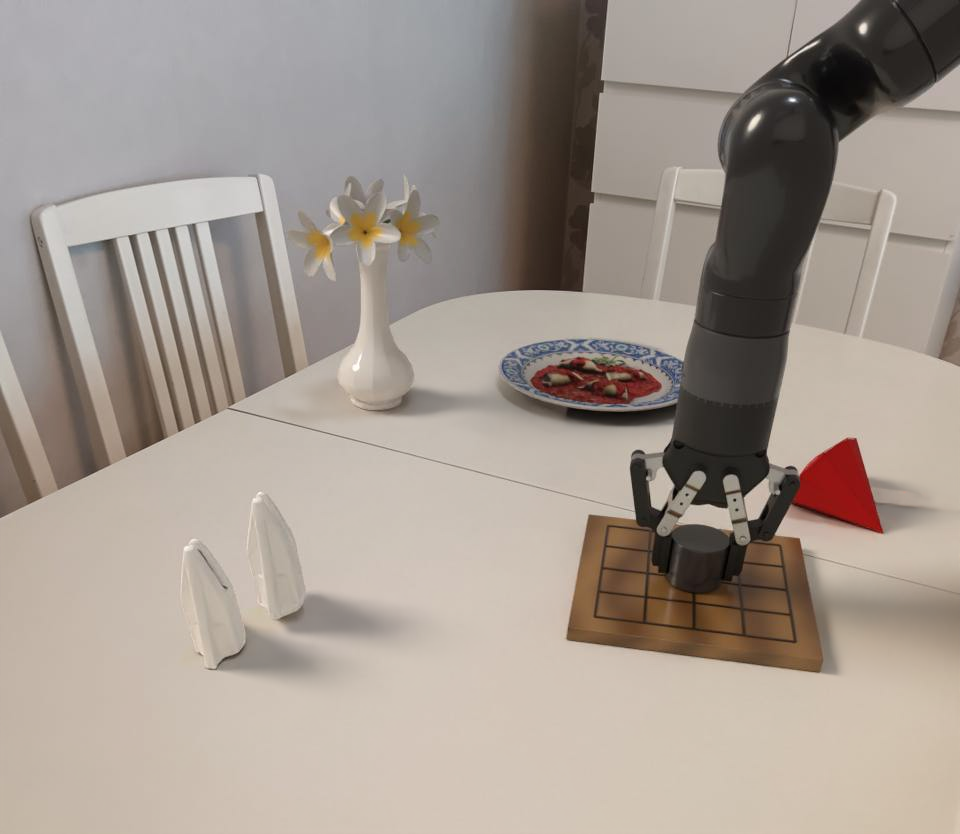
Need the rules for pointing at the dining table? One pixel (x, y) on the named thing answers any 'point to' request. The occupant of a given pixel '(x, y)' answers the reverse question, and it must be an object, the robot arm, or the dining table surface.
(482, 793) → the dining table surface
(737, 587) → the board
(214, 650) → the shaker set
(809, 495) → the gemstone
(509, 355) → the ceramic plate
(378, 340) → the flower vase
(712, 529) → the dark grey cylinder
